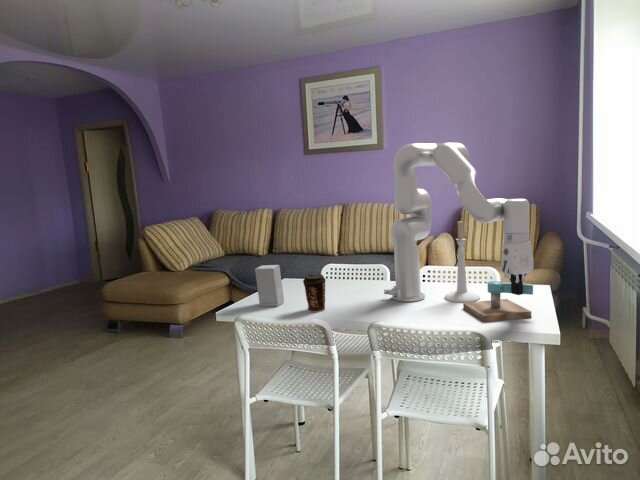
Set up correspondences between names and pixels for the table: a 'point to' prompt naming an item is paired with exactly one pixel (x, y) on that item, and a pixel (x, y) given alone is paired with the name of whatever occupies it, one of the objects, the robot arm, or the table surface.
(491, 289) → the teal lever handle
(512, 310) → the post block
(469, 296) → the candlestick
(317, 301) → the coffee cup
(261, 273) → the skincare box
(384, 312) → the table surface
